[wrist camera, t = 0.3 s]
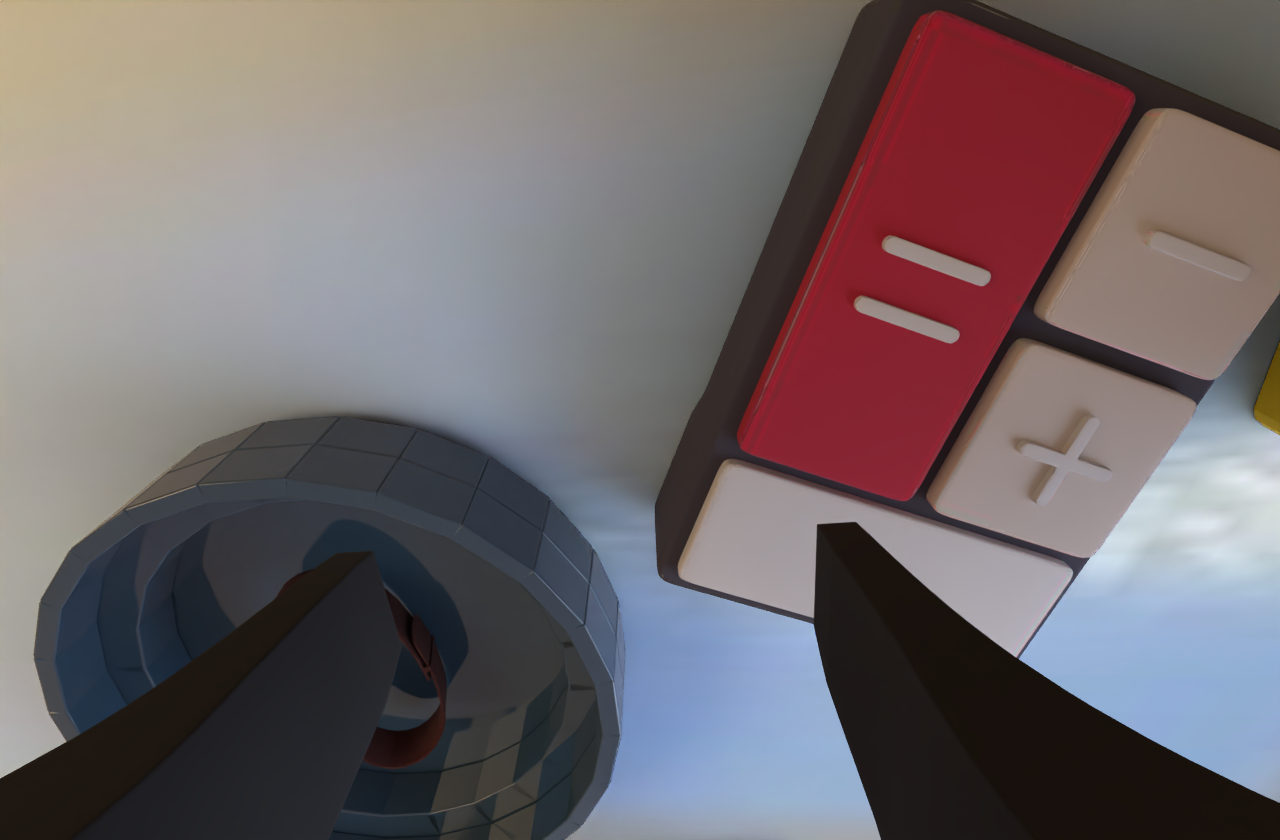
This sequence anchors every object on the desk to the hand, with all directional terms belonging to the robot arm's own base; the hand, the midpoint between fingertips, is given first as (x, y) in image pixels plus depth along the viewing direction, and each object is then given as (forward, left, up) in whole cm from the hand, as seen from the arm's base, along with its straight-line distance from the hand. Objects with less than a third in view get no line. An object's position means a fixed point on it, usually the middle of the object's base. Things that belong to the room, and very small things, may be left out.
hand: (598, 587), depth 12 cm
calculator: (0, -8, -10) cm, 13 cm away
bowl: (-9, +10, -10) cm, 17 cm away
